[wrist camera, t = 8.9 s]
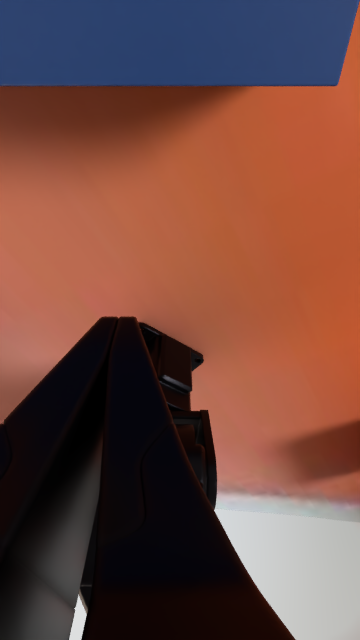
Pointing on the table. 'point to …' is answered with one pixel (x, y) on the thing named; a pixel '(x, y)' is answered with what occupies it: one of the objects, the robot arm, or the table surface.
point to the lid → (174, 42)
